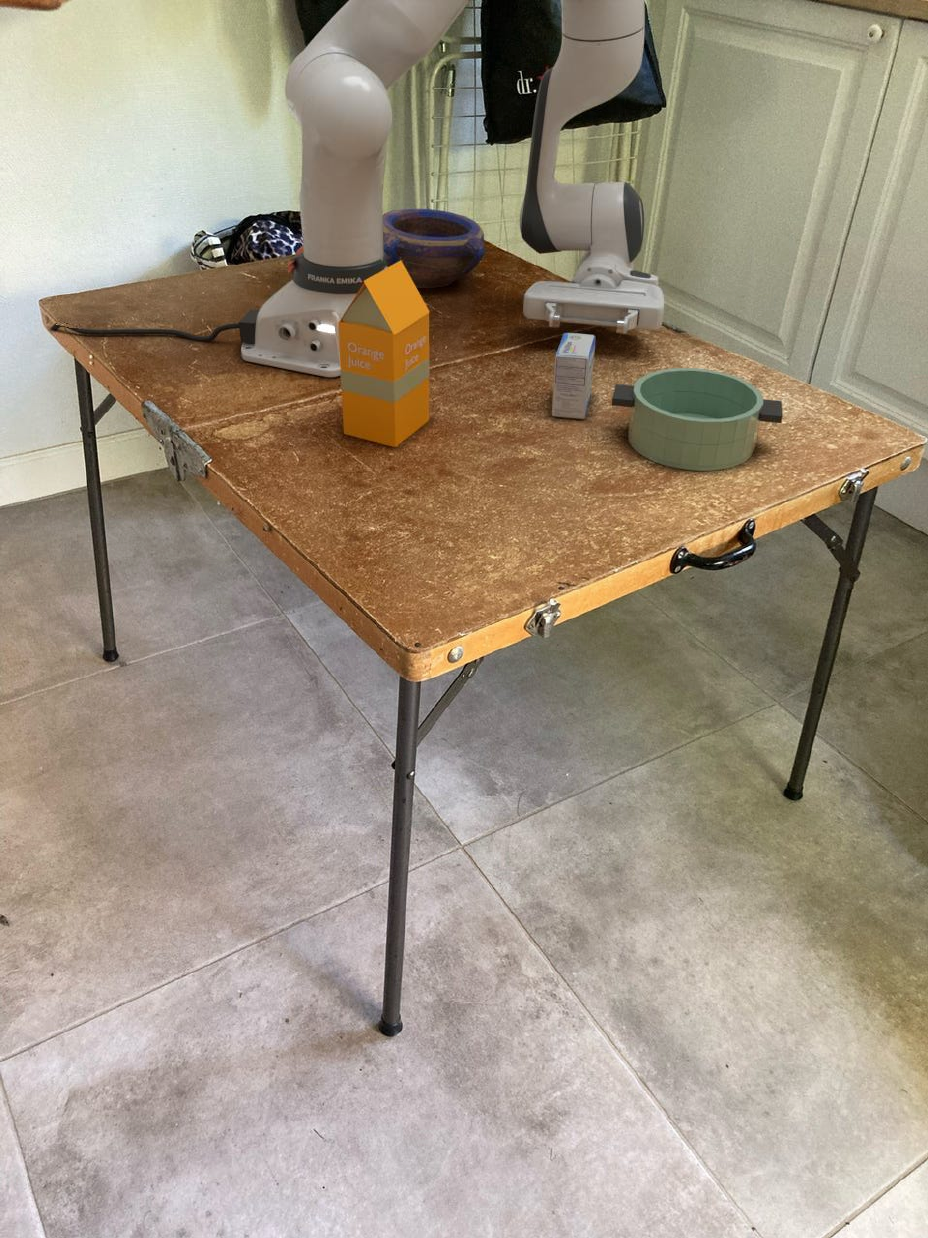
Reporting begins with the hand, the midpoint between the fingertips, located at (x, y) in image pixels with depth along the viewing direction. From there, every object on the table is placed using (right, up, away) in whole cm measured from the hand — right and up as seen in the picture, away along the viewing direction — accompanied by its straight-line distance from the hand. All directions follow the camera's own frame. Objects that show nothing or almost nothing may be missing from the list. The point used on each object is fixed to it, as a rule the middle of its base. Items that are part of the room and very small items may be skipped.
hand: (587, 325), depth 149 cm
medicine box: (-3, -13, -7) cm, 15 cm away
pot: (+11, -19, -14) cm, 26 cm away
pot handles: (+11, -15, -17) cm, 25 cm away
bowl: (-23, +17, +33) cm, 44 cm away
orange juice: (-27, -17, -13) cm, 34 cm away
